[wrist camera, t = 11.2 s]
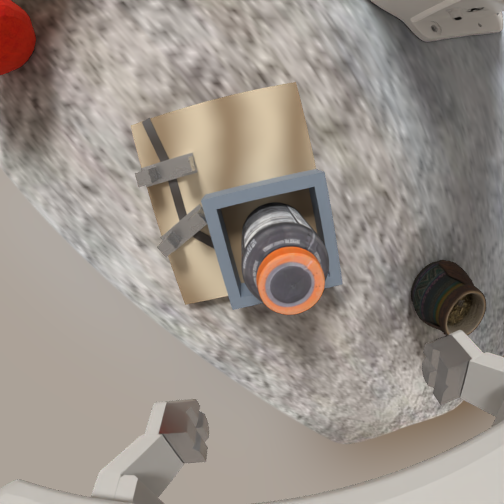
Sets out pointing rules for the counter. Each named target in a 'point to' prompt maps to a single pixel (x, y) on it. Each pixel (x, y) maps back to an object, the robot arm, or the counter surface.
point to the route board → (224, 171)
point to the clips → (194, 218)
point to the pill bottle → (283, 259)
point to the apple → (14, 37)
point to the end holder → (258, 190)
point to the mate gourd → (447, 298)
